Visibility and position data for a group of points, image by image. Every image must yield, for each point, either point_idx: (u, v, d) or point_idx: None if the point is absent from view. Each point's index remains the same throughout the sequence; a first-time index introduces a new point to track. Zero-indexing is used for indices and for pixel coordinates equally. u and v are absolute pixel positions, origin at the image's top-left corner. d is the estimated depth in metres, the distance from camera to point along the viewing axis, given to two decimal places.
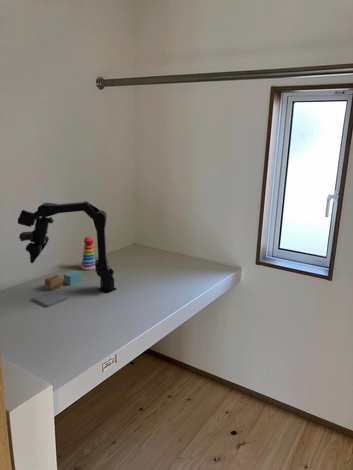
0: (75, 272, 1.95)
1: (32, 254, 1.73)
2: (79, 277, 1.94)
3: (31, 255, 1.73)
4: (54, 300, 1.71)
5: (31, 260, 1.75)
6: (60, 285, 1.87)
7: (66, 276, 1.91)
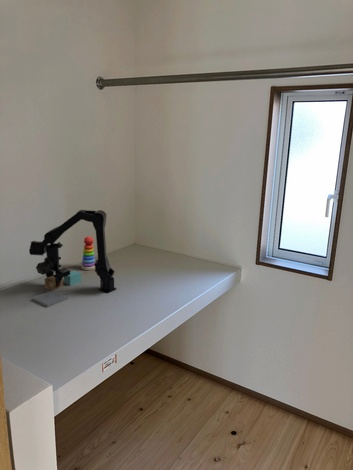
0: (75, 272, 1.95)
1: (58, 278, 1.84)
2: (79, 277, 1.94)
3: (57, 279, 1.83)
4: (54, 300, 1.71)
5: (57, 284, 1.85)
6: (60, 285, 1.87)
7: (66, 276, 1.91)
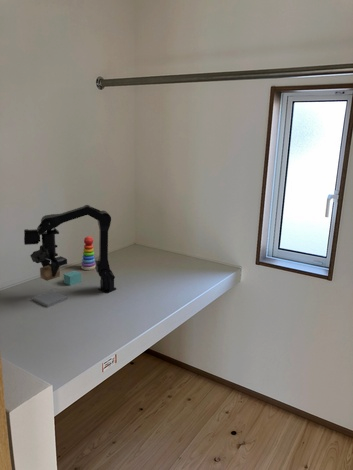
0: (75, 272, 1.95)
1: (54, 267, 1.72)
2: (79, 277, 1.94)
3: (54, 269, 1.72)
4: (54, 300, 1.71)
5: (53, 274, 1.73)
6: (56, 275, 1.76)
7: (66, 276, 1.91)
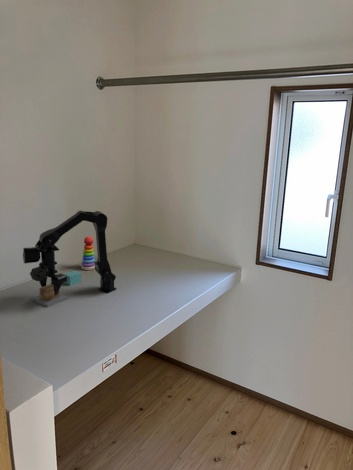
0: (75, 272, 1.95)
1: (56, 286, 1.69)
2: (79, 277, 1.94)
3: (56, 287, 1.68)
4: (54, 300, 1.71)
5: (56, 292, 1.70)
6: (56, 295, 1.74)
7: None
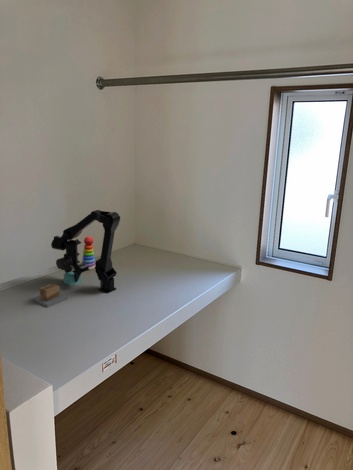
0: None
1: (77, 273, 1.90)
2: (79, 277, 1.94)
3: (76, 275, 1.90)
4: (54, 300, 1.71)
5: (76, 279, 1.92)
6: (56, 295, 1.74)
7: (66, 276, 1.91)
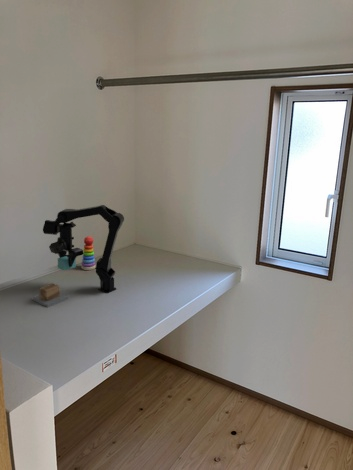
0: None
1: (71, 258, 1.83)
2: None
3: (70, 259, 1.83)
4: (54, 300, 1.71)
5: (70, 264, 1.84)
6: (56, 295, 1.74)
7: (60, 260, 1.83)
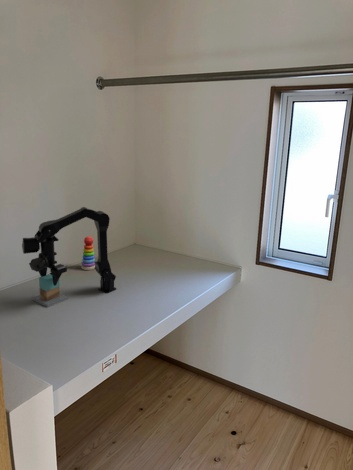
0: None
1: (55, 276, 1.68)
2: None
3: (55, 278, 1.67)
4: (54, 300, 1.71)
5: (55, 283, 1.69)
6: (56, 295, 1.74)
7: (41, 280, 1.69)
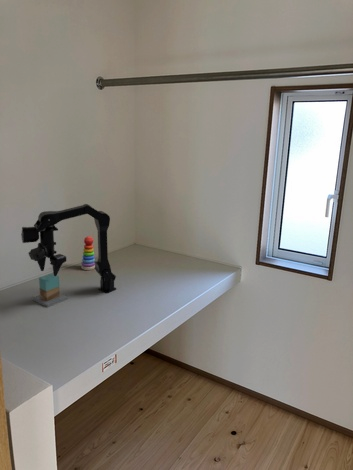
0: (52, 275, 1.73)
1: (56, 266, 1.66)
2: (57, 281, 1.72)
3: (55, 268, 1.66)
4: (54, 300, 1.71)
5: (55, 273, 1.67)
6: (56, 295, 1.74)
7: (41, 280, 1.69)
